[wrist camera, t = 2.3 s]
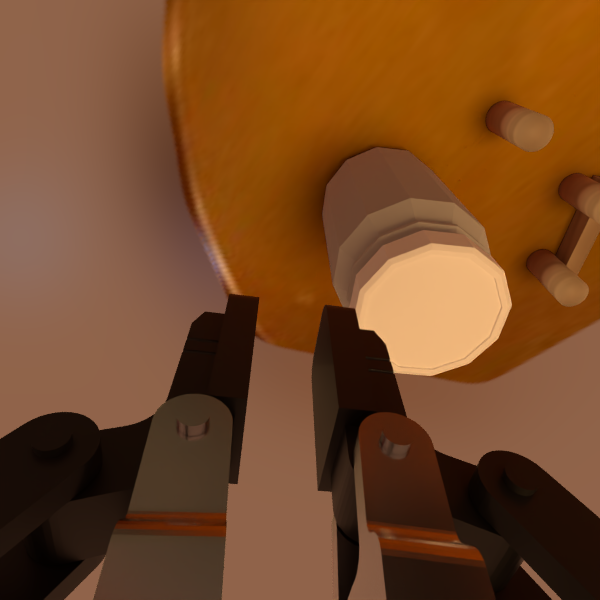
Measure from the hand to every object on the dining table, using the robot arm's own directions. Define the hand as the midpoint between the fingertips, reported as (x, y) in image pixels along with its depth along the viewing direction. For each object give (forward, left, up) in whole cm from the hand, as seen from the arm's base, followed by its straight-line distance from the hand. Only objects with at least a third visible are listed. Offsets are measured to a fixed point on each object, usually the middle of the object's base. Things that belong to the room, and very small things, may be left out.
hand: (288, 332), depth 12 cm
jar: (+10, +1, -29) cm, 31 cm away
